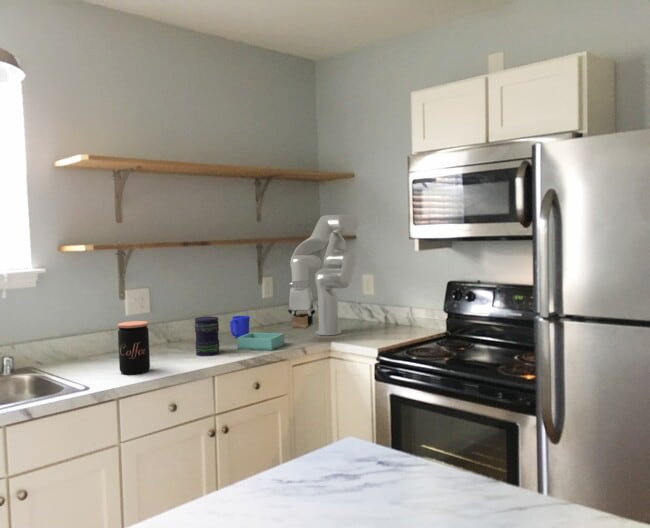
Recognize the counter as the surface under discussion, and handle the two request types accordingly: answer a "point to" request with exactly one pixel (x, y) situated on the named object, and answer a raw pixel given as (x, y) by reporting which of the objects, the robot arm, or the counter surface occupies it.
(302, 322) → the walnut crate
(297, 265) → the robot arm
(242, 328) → the mug
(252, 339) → the teal crate
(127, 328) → the coffee jar
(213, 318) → the storage jar
